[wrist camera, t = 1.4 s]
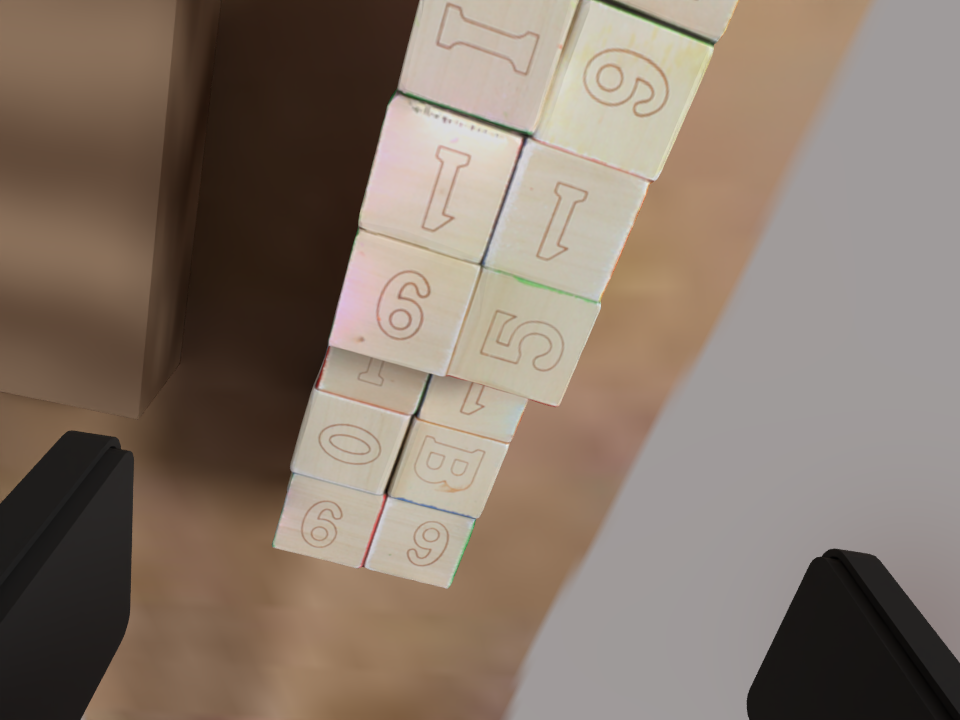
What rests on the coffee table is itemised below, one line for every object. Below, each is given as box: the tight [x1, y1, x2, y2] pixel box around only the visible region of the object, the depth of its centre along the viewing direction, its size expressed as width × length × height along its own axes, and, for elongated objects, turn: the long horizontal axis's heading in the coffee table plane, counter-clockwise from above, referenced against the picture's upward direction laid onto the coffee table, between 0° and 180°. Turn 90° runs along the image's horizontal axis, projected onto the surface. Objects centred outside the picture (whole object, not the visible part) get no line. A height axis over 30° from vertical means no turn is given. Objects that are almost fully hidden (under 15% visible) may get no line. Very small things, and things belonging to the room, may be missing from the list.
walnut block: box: [0, 0, 221, 420], centre depth 25 cm, size 18×9×5 cm, turn 165°
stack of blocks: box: [272, 0, 739, 588], centre depth 24 cm, size 21×6×12 cm, turn 161°
